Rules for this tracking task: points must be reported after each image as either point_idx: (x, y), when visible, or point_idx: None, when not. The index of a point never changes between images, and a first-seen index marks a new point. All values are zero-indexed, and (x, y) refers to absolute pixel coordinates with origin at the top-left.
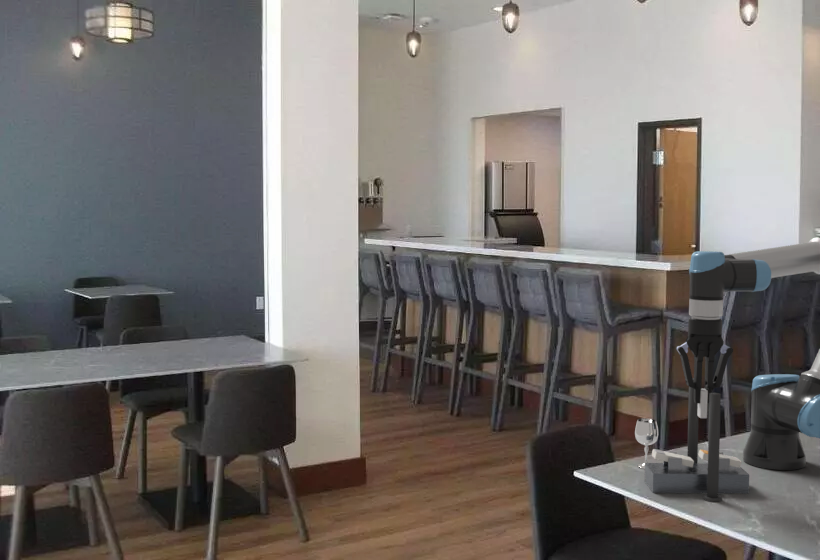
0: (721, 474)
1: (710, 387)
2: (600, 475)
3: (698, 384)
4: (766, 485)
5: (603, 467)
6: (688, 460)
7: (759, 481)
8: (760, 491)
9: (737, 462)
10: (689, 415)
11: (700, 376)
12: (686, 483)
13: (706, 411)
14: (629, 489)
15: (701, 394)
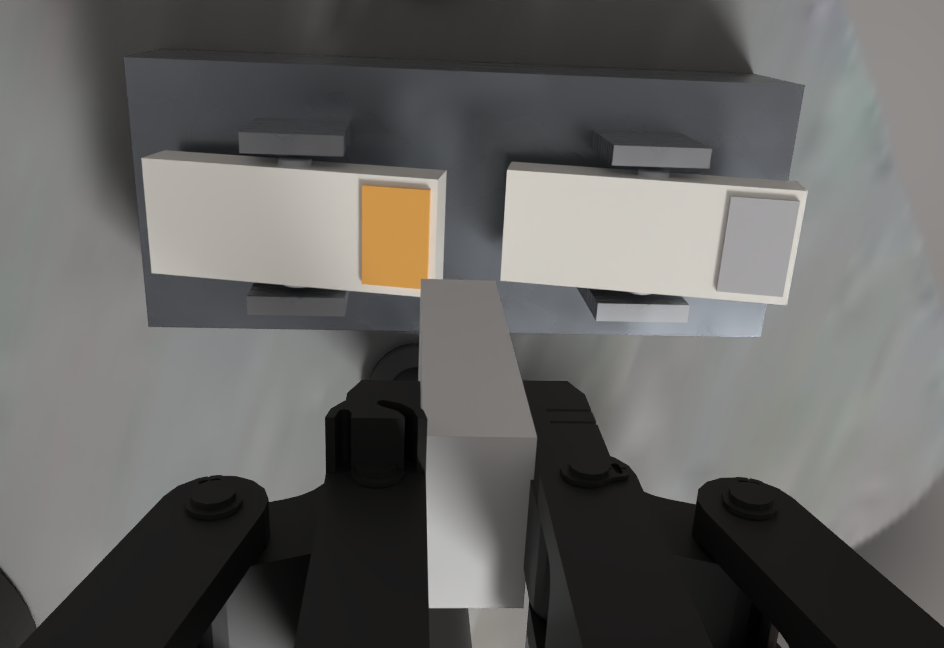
0: (328, 66)
1: (373, 465)
2: (920, 395)
3: (608, 512)
4: (6, 223)
5: (848, 529)
6: (549, 173)
7: (33, 301)
8: (73, 99)
9: (175, 158)
10: (467, 622)
11: (609, 622)
12: (564, 70)
13: (428, 306)
14: (864, 140)
15: (523, 409)
